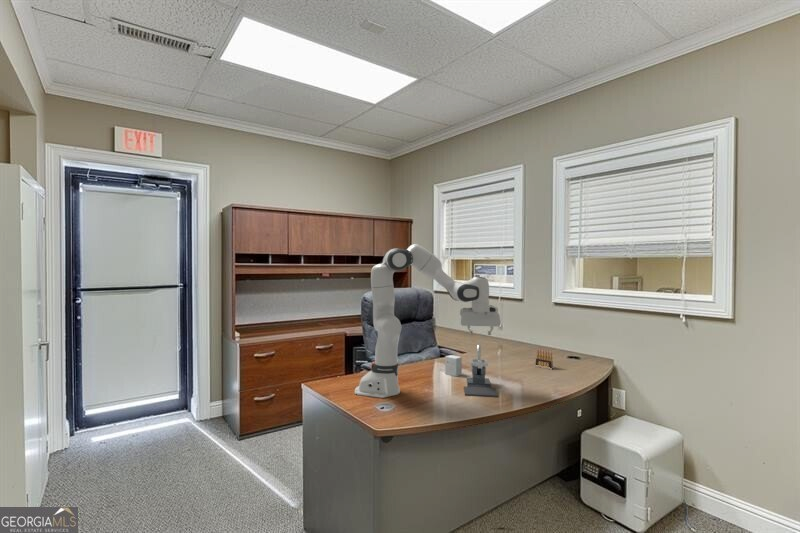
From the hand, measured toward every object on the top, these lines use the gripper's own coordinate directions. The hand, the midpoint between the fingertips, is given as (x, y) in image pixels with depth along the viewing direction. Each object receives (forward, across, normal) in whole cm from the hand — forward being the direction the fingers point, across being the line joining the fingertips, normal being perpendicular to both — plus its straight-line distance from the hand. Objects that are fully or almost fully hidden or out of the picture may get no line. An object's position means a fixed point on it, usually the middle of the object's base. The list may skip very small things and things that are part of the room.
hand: (480, 334), depth 209 cm
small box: (+28, -14, +24) cm, 39 cm away
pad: (+28, 0, -7) cm, 29 cm away
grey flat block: (+17, 0, +5) cm, 18 cm away
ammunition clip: (+29, +43, +50) cm, 73 cm away
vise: (+28, 0, +7) cm, 29 cm away
